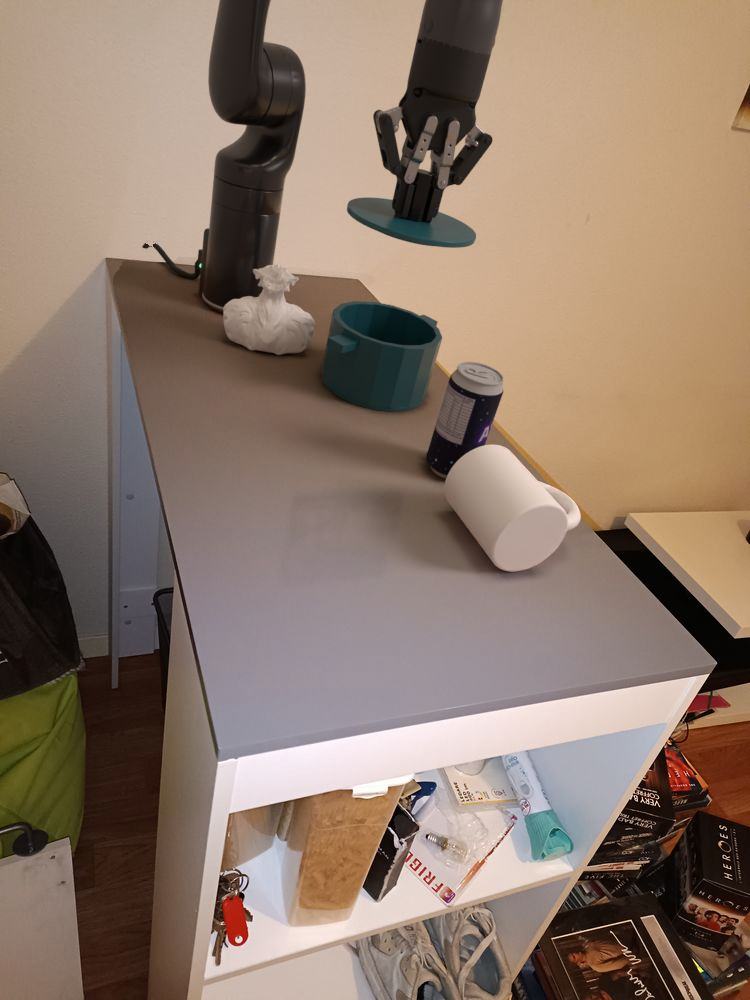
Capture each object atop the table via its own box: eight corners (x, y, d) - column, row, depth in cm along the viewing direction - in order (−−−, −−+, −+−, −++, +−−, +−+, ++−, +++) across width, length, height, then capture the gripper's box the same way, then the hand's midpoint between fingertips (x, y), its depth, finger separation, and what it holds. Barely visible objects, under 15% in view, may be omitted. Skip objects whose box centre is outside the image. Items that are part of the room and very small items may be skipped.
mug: (480, 576, 67) (508, 506, 63) (434, 510, 74) (456, 443, 70) (584, 565, 72) (616, 500, 68) (531, 505, 79) (557, 442, 75)
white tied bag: (307, 366, 101) (318, 286, 101) (313, 353, 93) (325, 267, 94) (218, 351, 98) (230, 269, 99) (217, 336, 91) (230, 248, 92)
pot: (284, 377, 92) (294, 312, 87) (379, 350, 105) (393, 293, 100) (365, 427, 86) (381, 360, 81) (455, 392, 99) (473, 333, 94)
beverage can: (471, 490, 79) (506, 391, 73) (420, 475, 79) (450, 375, 73) (475, 464, 84) (508, 369, 77) (427, 450, 84) (456, 354, 78)
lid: (318, 210, 81) (328, 150, 78) (400, 205, 91) (412, 152, 88) (422, 258, 74) (438, 195, 71) (497, 247, 85) (514, 192, 82)
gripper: (498, 50, 78) (453, 216, 88) (378, 19, 73) (344, 200, 82) (532, 61, 73) (480, 237, 82) (405, 29, 67) (365, 221, 77)
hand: (412, 217), depth 82 cm, fingers closed on lid, 2 cm apart
